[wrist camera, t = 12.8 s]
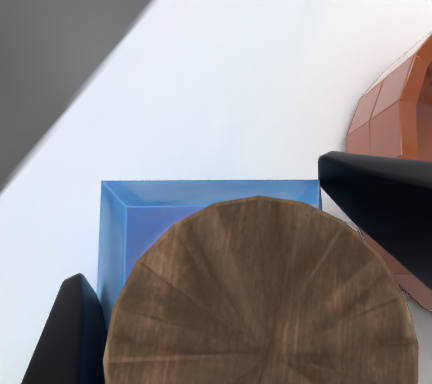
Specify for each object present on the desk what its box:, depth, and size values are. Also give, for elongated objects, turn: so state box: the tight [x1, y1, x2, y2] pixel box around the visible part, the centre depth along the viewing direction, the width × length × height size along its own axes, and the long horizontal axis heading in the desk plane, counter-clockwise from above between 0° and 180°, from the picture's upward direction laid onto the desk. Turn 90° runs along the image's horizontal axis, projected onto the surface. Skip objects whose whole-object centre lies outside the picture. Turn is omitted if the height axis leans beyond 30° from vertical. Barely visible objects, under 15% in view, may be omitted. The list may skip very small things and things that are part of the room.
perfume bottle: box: [97, 180, 418, 384], centre depth 9 cm, size 6×6×12 cm
